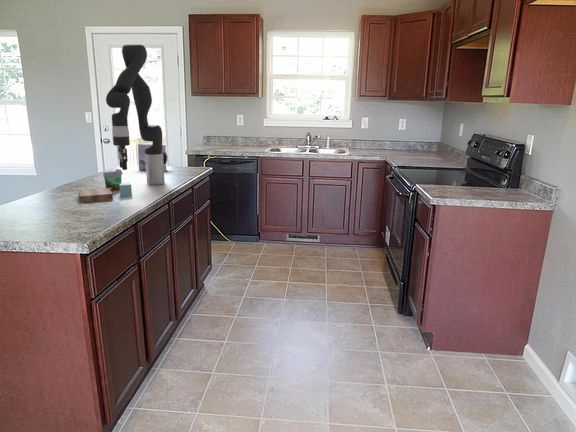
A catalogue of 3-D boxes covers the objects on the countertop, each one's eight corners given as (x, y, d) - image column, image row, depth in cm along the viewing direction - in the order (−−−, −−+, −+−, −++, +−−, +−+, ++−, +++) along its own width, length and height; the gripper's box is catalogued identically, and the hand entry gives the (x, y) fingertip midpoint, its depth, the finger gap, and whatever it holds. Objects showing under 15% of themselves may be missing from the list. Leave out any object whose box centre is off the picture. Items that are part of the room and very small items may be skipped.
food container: (115, 192, 219) (113, 173, 216) (104, 191, 220) (102, 172, 217) (128, 187, 231) (126, 169, 228) (118, 186, 232) (116, 168, 229)
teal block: (130, 194, 214) (129, 182, 213) (132, 196, 210) (131, 184, 209) (120, 195, 212) (119, 183, 210) (121, 197, 208) (120, 185, 206)
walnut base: (109, 194, 214) (108, 188, 213) (113, 199, 202) (112, 193, 201) (78, 196, 207) (78, 190, 206) (80, 202, 195) (80, 196, 194)
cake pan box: (168, 169, 290) (166, 144, 285) (165, 171, 285) (164, 144, 280) (141, 169, 292) (139, 143, 287) (138, 170, 287) (136, 144, 282)
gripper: (131, 136, 199) (133, 170, 203) (126, 134, 211) (129, 166, 215) (114, 136, 195) (117, 171, 200) (110, 134, 207) (113, 167, 212)
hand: (123, 168), depth 207 cm, fingers open, 8 cm apart
